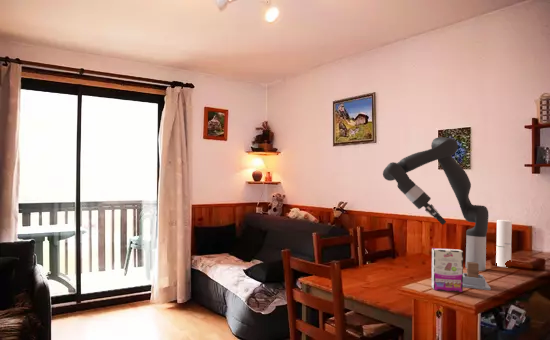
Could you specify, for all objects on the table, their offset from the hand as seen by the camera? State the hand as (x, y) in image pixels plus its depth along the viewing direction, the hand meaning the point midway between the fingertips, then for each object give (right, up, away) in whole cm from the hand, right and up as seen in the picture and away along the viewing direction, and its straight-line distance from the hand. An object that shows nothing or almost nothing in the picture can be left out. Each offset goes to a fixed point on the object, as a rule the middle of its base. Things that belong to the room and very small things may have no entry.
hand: (443, 222), depth 179 cm
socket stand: (+8, -26, -11) cm, 29 cm away
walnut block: (+8, -25, -11) cm, 28 cm away
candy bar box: (-8, -25, -20) cm, 33 cm away
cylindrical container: (+48, -29, +36) cm, 67 cm away
